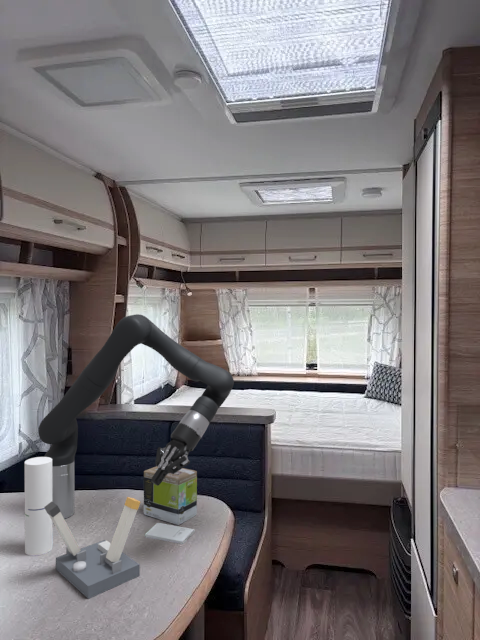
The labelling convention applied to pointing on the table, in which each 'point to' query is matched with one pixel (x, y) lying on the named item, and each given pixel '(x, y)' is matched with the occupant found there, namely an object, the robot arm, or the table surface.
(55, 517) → the black lever
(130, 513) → the amber lever
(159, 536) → the external hard drive
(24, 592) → the table surface
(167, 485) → the tea box
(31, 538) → the cylindrical container
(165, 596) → the table surface
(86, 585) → the switch panel
